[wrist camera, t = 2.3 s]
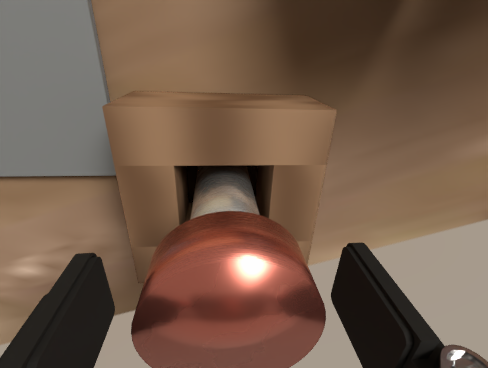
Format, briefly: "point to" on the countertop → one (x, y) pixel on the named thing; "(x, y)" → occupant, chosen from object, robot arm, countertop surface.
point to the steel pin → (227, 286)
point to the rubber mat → (52, 90)
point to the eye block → (216, 157)
